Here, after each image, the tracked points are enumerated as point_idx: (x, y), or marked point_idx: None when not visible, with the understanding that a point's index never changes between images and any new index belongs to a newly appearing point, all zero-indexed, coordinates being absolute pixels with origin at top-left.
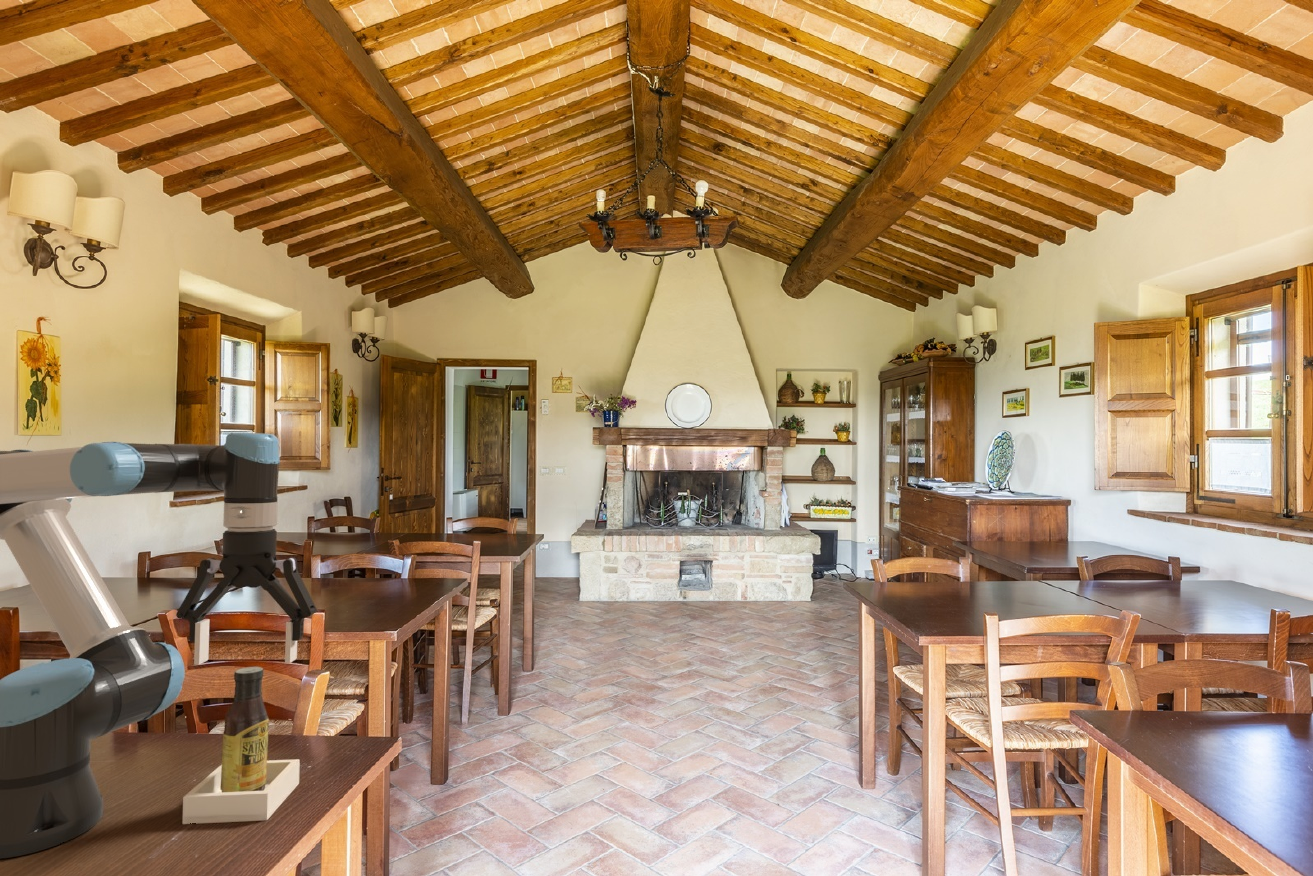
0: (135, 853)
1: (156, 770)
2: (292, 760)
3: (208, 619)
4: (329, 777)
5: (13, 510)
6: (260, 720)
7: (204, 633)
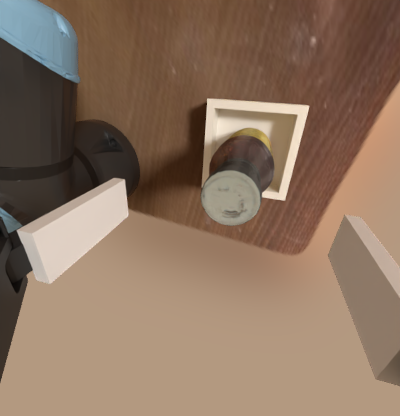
0: (193, 215)
1: (115, 31)
2: (299, 108)
3: (32, 237)
4: (345, 90)
5: None
6: (266, 188)
7: (75, 235)
